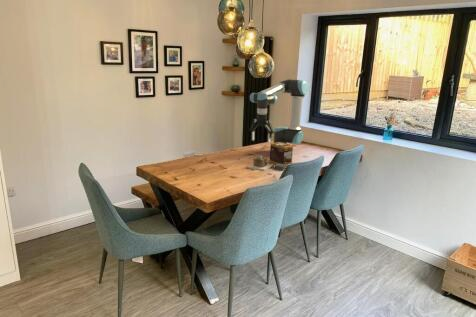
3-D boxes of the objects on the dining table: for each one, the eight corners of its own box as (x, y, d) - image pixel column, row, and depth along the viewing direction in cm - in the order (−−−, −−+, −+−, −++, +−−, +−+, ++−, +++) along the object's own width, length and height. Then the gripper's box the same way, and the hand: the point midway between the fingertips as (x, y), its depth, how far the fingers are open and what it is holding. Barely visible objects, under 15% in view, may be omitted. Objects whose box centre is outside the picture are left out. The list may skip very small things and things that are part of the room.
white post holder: (256, 163, 292) (256, 152, 289) (272, 166, 285) (272, 154, 283) (248, 167, 280) (248, 156, 277) (264, 170, 273) (265, 159, 271)
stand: (277, 166, 284) (278, 163, 283) (286, 168, 281) (286, 164, 280) (274, 169, 278) (274, 165, 277) (282, 170, 275) (283, 166, 274)
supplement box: (283, 166, 286) (284, 147, 282) (269, 161, 297) (270, 143, 293) (291, 164, 292) (293, 145, 288) (278, 159, 304) (279, 141, 300)
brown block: (257, 163, 287) (258, 156, 286) (267, 165, 284) (267, 157, 282) (253, 165, 281) (253, 158, 279) (262, 167, 277) (263, 160, 275)
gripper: (244, 112, 276) (244, 140, 282) (275, 116, 265) (274, 144, 271) (249, 111, 283) (248, 138, 289) (279, 114, 271) (277, 142, 278)
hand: (261, 141), depth 280 cm, fingers open, 13 cm apart
